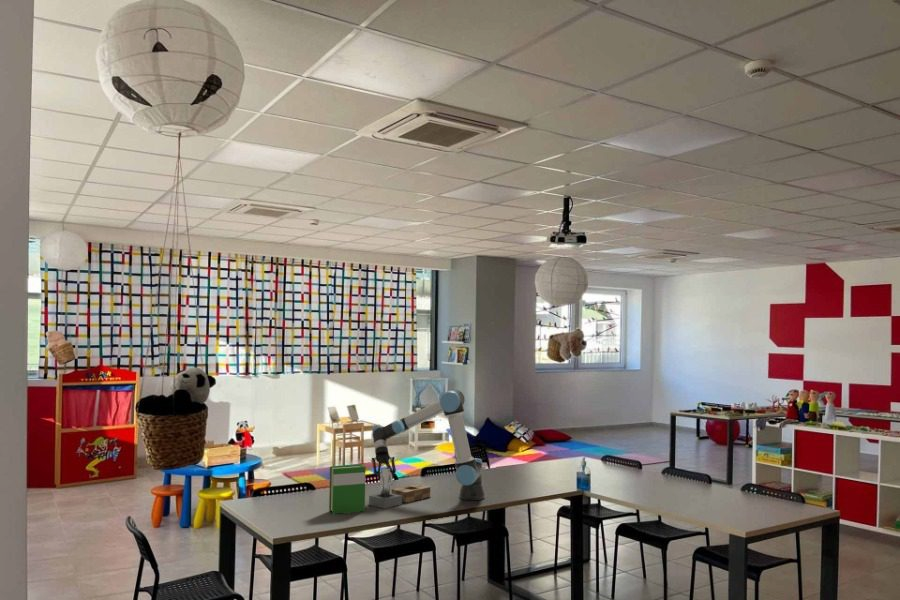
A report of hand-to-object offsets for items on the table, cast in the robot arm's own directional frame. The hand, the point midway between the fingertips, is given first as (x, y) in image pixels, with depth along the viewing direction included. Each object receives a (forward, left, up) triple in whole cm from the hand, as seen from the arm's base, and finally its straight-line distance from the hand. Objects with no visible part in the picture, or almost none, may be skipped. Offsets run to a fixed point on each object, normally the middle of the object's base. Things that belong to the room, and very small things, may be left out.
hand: (386, 483), depth 382 cm
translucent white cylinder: (+3, -2, -10) cm, 11 cm away
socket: (+3, -2, -12) cm, 13 cm away
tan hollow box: (+4, -23, -12) cm, 26 cm away
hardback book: (+6, +23, -13) cm, 27 cm away
